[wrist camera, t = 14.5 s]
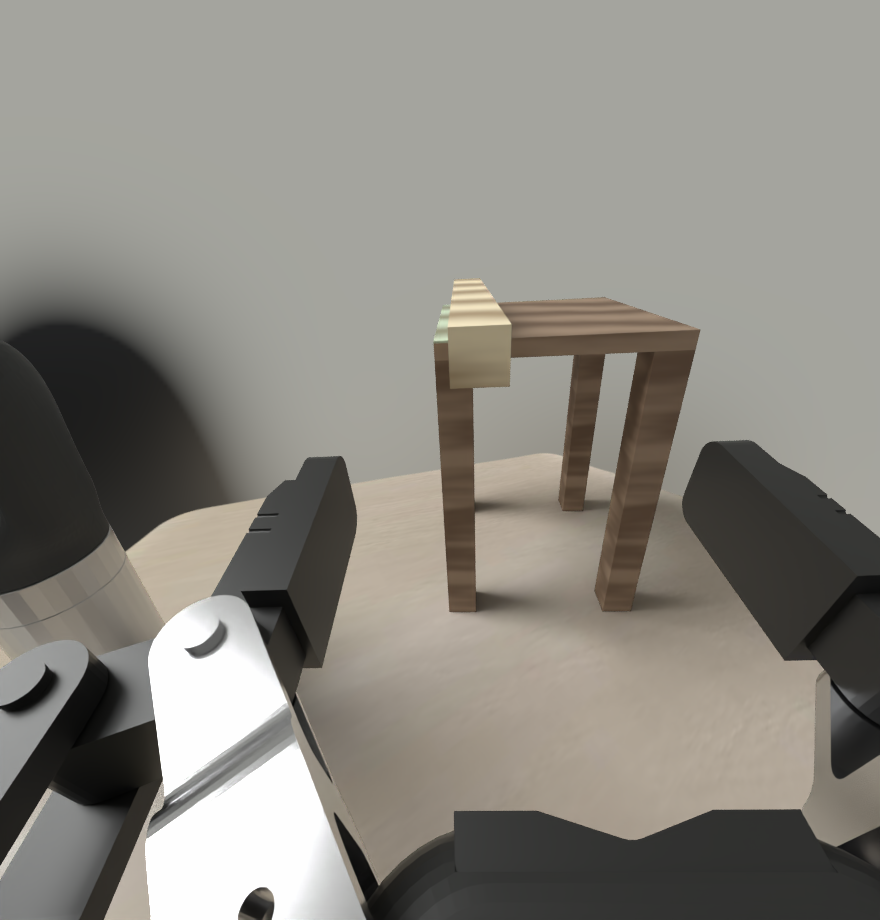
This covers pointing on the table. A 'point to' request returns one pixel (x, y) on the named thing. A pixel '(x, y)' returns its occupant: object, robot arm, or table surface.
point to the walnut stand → (576, 429)
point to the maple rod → (477, 338)
